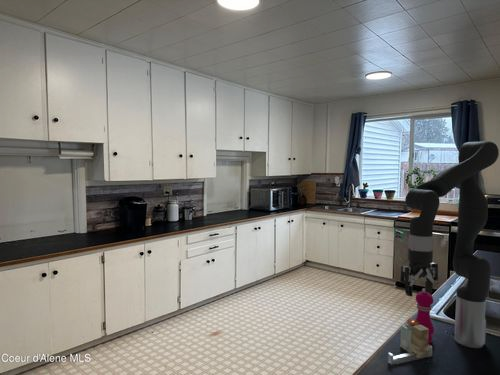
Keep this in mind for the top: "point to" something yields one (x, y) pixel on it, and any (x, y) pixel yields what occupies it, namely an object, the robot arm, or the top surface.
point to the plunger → (412, 323)
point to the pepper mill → (425, 311)
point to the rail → (405, 357)
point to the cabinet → (406, 337)
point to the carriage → (420, 341)
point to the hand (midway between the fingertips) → (418, 294)
